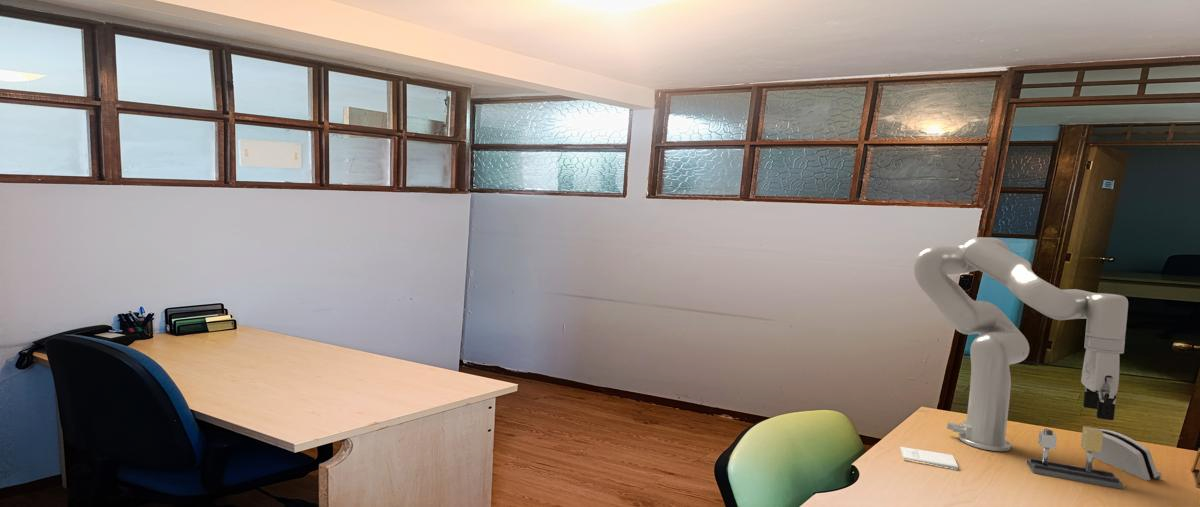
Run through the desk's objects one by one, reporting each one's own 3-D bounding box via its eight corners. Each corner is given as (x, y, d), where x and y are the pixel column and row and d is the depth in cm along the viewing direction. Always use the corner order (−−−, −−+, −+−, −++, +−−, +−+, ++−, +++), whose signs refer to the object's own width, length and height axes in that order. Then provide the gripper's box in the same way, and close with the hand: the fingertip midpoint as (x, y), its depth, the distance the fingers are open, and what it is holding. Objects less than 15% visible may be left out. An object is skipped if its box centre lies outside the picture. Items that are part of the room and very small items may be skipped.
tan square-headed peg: (1082, 472, 152) (1087, 430, 152) (1078, 467, 155) (1083, 426, 155) (1098, 475, 151) (1103, 432, 150) (1093, 470, 154) (1098, 428, 153)
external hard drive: (957, 472, 154) (902, 462, 159) (951, 460, 162) (899, 451, 166) (958, 466, 154) (903, 456, 158) (952, 454, 162) (900, 445, 166)
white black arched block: (1163, 480, 155) (1156, 444, 153) (1147, 486, 154) (1140, 450, 153) (1100, 453, 171) (1094, 420, 170) (1086, 459, 171) (1079, 425, 169)
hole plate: (1033, 472, 155) (1037, 432, 154) (1026, 462, 161) (1030, 423, 161) (1122, 489, 148) (1128, 447, 147) (1112, 478, 154) (1117, 437, 154)
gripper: (1074, 337, 160) (1068, 402, 161) (1097, 348, 144) (1090, 421, 145) (1110, 340, 157) (1104, 406, 158) (1137, 353, 141) (1130, 426, 142)
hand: (1097, 413), depth 152 cm, fingers open, 9 cm apart
